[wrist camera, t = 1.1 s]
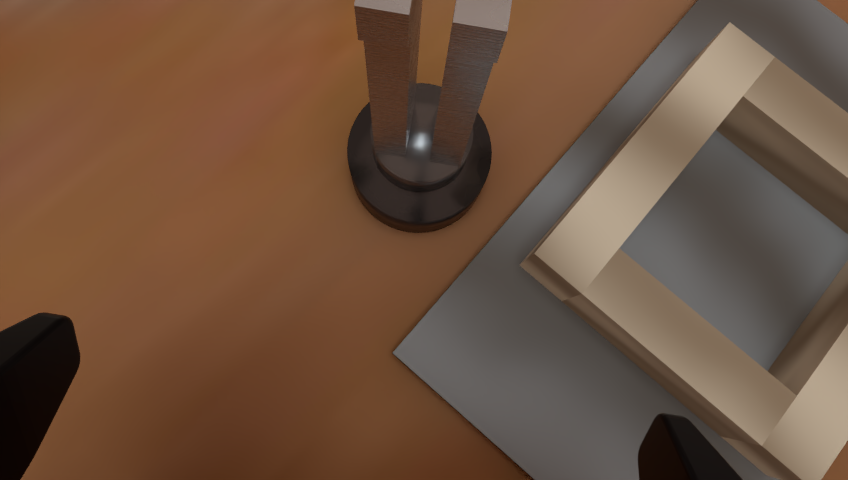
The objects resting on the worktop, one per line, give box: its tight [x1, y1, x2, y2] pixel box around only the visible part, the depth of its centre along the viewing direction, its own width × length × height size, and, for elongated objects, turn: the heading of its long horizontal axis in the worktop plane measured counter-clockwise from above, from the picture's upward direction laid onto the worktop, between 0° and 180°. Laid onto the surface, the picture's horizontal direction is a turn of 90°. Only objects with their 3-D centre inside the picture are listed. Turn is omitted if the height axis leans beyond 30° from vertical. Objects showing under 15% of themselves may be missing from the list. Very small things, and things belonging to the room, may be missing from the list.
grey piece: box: [347, 0, 512, 233], centre depth 18 cm, size 5×5×13 cm
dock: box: [393, 0, 848, 480], centre depth 22 cm, size 22×14×4 cm, turn 139°
